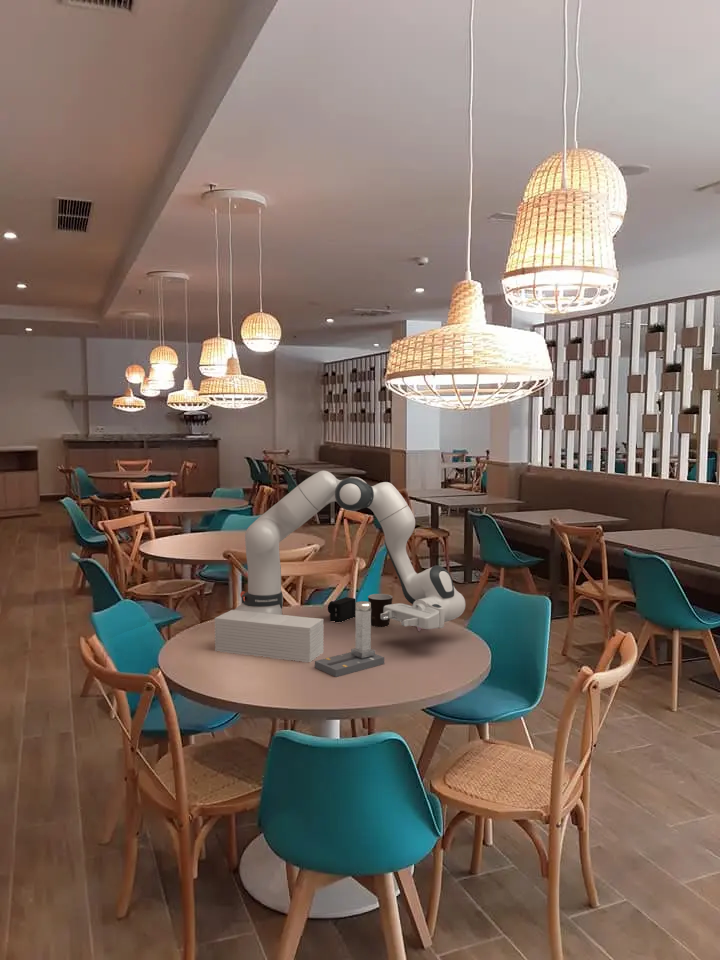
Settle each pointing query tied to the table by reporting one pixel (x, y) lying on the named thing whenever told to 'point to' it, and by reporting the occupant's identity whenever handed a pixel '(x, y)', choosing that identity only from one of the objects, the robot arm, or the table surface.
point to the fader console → (347, 664)
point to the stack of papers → (269, 635)
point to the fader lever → (363, 631)
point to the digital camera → (342, 609)
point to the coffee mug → (379, 608)
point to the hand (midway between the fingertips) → (392, 620)
